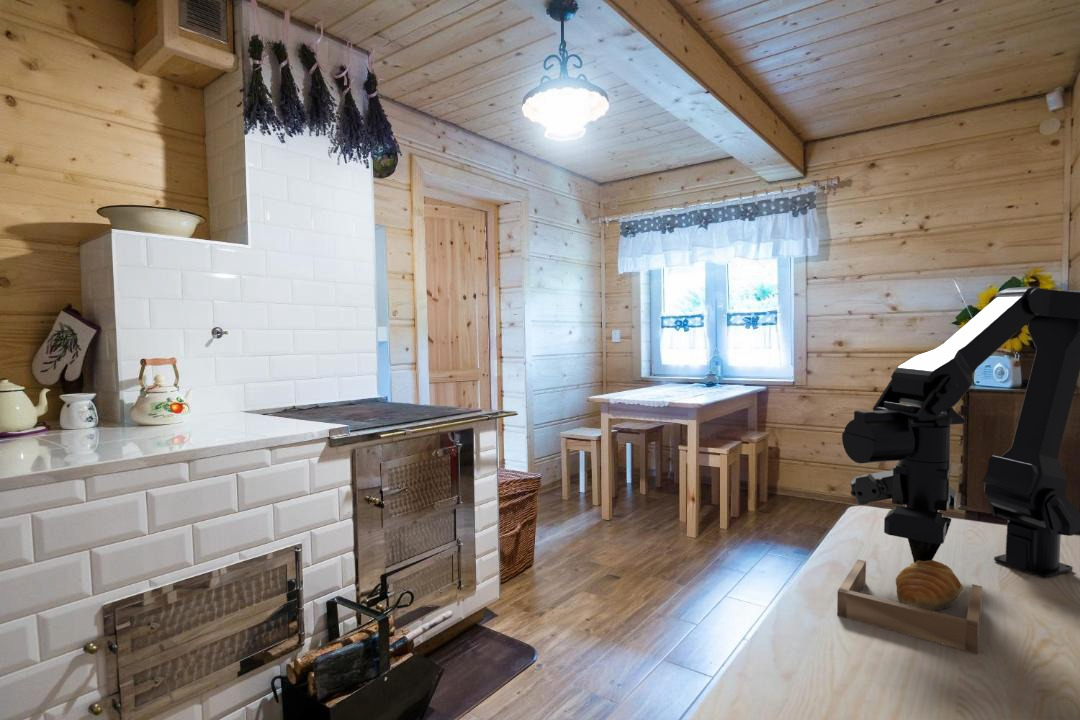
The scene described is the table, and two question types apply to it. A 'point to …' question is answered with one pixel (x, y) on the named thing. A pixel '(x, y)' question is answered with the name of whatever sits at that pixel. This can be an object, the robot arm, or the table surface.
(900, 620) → the wooden frame
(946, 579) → the pastry
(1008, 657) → the table surface
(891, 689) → the table surface
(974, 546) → the table surface
